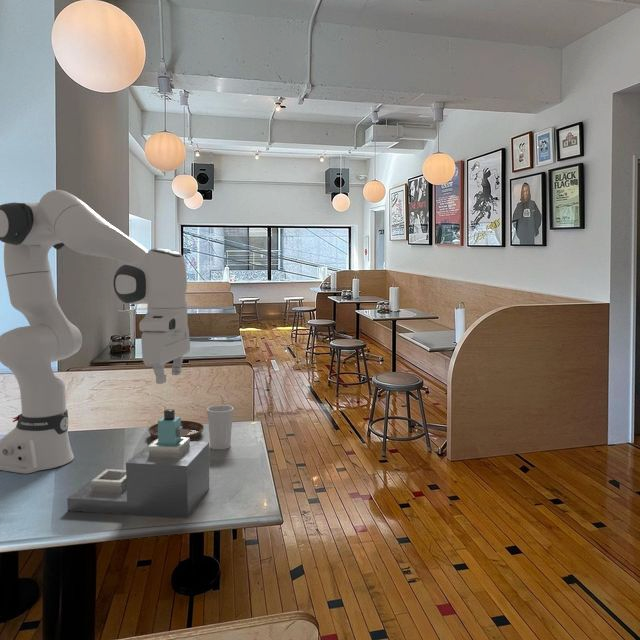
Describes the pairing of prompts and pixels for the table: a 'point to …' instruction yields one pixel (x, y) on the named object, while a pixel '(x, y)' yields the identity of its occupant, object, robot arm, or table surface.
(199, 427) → the plant saucer
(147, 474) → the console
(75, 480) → the table surface
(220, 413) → the cup
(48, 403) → the robot arm
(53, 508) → the table surface
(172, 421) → the plug
